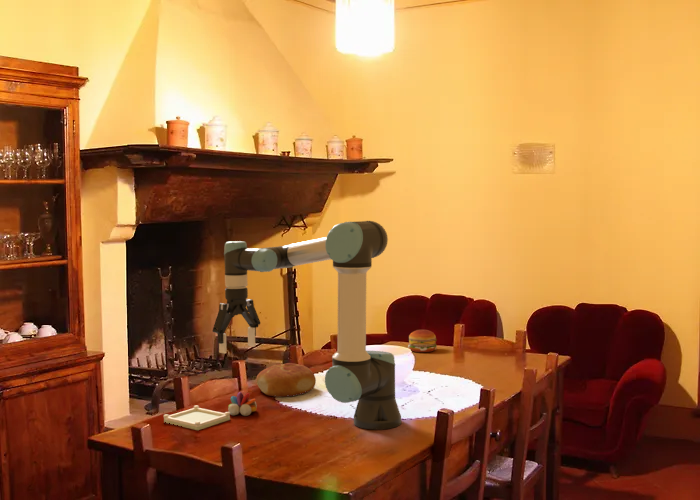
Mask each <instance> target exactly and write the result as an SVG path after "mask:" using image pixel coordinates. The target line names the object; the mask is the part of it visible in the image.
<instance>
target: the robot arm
mask: <svg viewBox="0 0 700 500" xmlns="http://www.w3.org/2000/svg"><path fill="white" fill-rule="evenodd" d="M388 241H389V238H388V234H387V231H386V229H385V228H384V226H383V225H381V224H380V223H378V222H376V221H373V220H362V221H360V220H359V221H345V222H341V223H337V224H335V225H334V226H333V227H332V228H331V229H330V230H329V231H328V232H327V235H326V236H324V237H319V238H315V239H310V240H306V241H305V240H304V241H301V242H296V243H290V244H285V245H279V246H272V247H271V246H269V247H258V248H257V247H256V248H255V247H254V248H253V247H248V245H247V242H246V241H241V240H239V241H238V240H237V241H236V240H235V241H226V242H225V243H224V249H223V250H224V252H223V257H224V258H223V259H224V286H225V289H224V296H225V300H226V302H225V303H222V302H220V303H219V307H218V312H217V316H216V319H215V321H214V325H213V327H212V333H215V334H217V343H218V352H219V353H220V354H227V349H228V348H227V333H226V330H227V329H228V327H229V324H230V323H231V321H232V319H233V318H234V317H236V316H238V315H241V316H242V317H243V319H244V320H245V322H246V323H247V324H248V326H249V327H247V346H248V347H252V348H254V347H256V336H257V328H258V327H259V326H260V325H261V321H260V317H259V315H258V313H257V310H256V308H255V304H254V303H255V302H254V300H253V299H250V298H248V296H249V295H248V294H249V293H248V289H249V288H248V287H247V286H248V285H249V284H248V271H250V272H252V271H253V272H260V273H267V272H272V271H274V270H276V269H277V270H278V269H279V270H280V269H287V268H289V269H290V268H294V267H296V266H302V265H306V264H313V263H319V262H324V261H330V260H332V268H333V269H334V270H335V271H336V272H337V351H335V352H334V354H332V356H331V358H332V362H331V363H332V365H331V366H330V367H329V368H328V370H326V373H325V376H324V385H325V388H326V390H327V392H328V394H330V396H331V398H333V399H334V400H335V401H337V402H339V403H344V404H346V403H347V404H348V403H354V402H357V403H356V407H355V411H354V414H353V424H354V426H356V427H358V428H360V429H364V430H365V429H366V430H388V429H393V428H396V427H398V426H400V425H401V424H402V414H401V413H400V409H399V405H398V403H397V400H396V363H395V361H396V360H395V355H394V354H393V353H392V352H389V351H383V350H382V351H381V350H367V346H366V345H367V273H368V271H369V270H370V269H371V268H372V262H373V260H372V259H374V258H377V257H378V256H380V255H381V254H383V253H384V251H385V250H386V248H387V246H388Z"/></svg>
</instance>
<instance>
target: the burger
mask: <svg viewBox="0 0 700 500" xmlns="http://www.w3.org/2000/svg"><path fill="white" fill-rule="evenodd" d="M437 340H438V339H437V337H436V334H435V333H434V332H433V331H431V330H428V329H416V330H414V331H412V332H411V333H410V334H409V335H408V345H407V348H409V349H411V350H412V351H411V350H410V351H411V352H415V353H431V352H433V351H435V350H437V348H438V347H437V343H436V342H437Z"/></svg>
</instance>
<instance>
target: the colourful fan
mask: <svg viewBox="0 0 700 500" xmlns="http://www.w3.org/2000/svg"><path fill="white" fill-rule="evenodd" d="M250 396H251V394H250V393H249V392H247V393H245V395H244V393H243V392H241V391H239V392H237V395H236V396H235V395H232V396H231V397H230V402H231V403H230V404H228V406H227V407H228V409H227V410H228V411H227V412H230V415H231V416H237V415H239V414H241V415H242V416H244V417H247V416H249V415H251V414H252V413H253V412H256V411H257V407H258V405H257V402H256V398H252V399H250Z"/></svg>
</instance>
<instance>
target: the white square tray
mask: <svg viewBox="0 0 700 500" xmlns="http://www.w3.org/2000/svg"><path fill="white" fill-rule="evenodd" d="M230 415H231V414H230V412H229V411H225V412H221V411H215V410H211V409H207V408H201V407H200V406H199V405H193V407H191V408H190V409H187V410H183V411H180V412H177V413H173V414H163V423H165V422H166V423H165V424H169V423H170V425H173V424H174V425H173V426H177V425H178V426H179V427H181V426H182V427H183V428H185V429H191V430H195V431H199V430H202V429H207V428H209V427H211V426H212V427H213V426H215V425H218V424H221V423H224V422H227V421H230V420H231V417H230Z"/></svg>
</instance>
